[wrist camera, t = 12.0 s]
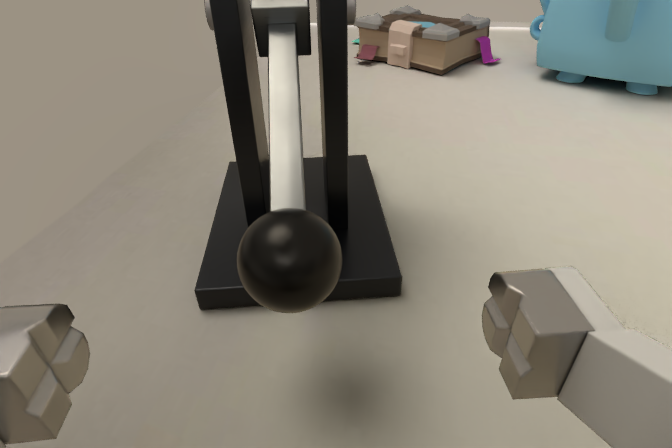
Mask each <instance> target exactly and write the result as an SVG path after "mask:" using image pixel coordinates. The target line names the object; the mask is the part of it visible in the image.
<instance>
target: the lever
mask: <svg viewBox="0 0 672 448" xmlns="http://www.w3.org/2000/svg"><path fill="white" fill-rule="evenodd" d="M251 14H252V19H253V25H254V30H255V36H256V41H257V47H258V52H259V56H260V57H268V92H269V169H270V212H268V213H266V214H264V215H262V216H261V217H259V218H258V219H257V220H256V221H254V222H253V223H252V224H251V225H250V226H249V228H248V229H247V230H246V232H245V233H244V235H243V237H242V239H241V242H240V244H239V248H238V252H237V269H238V274H239V277H240V280H241V282H242V284H243V286H244V288H245V290H246V291H247V292H248V294H249V295H250V296H251V297H252V298H253V299H254V300H255V301H256V302H258V303H259V304H260V305H262V306H264V307H266V308H268V309H270V310H273V311H277V312H282V313H296V312H302V311H305V310H308V309H311V308H313V307H315V306H316V305H318V304H319V303H321V302H322V301H323V300H325V299H326V298H327V297H328V296H329V295H330V293H331V292H332V291H333V289H334V288H335V286H336V284H337V282H338V280H339V277H340V274H341V270H342V250H341V246H340V243H339V240H338V238H337V236H336V234H335V232H334V231H333V229H332V228H331V227H330V225H329V224H328V223H327V222H326V221H324V220H323V219H322V218H321V217H319V216H318V215H316V214H314V213H312V212H310V211H307V210H306V200H305V181H304V161H303V142H302V123H301V104H300V84H299V65H298V56H300V55H311V36H310V12H309V0H251Z"/></svg>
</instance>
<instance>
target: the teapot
mask: <svg viewBox="0 0 672 448" xmlns="http://www.w3.org/2000/svg"><path fill="white" fill-rule="evenodd" d="M540 2H541V5H542V8H543V12H544V15H540V16H538V17H536V18H535V19H534V20H533V22H532V23H531V26H530V34H531V36H532V37H533V38H534V39H535V40H538V44H537V66H540V67H543V68H548V69H553V70H558V71H561V72H560V73H559V74H558V75H557V76H556V79H557V80H560V81H563V82H569V83H580V82H583V81H584V79H585V78H586V76H593V77H599V78H605V79H612V80H620V81H627V84H626V90H628V91H630V92H633V93H637V94H643V95H654V94H657V93H658V91H657V85H658V86H667V87H672V0H540ZM541 22H543V25H542V28H541V30H540V29H539V24H540V23H541Z"/></svg>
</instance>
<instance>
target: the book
mask: <svg viewBox="0 0 672 448" xmlns="http://www.w3.org/2000/svg"><path fill="white" fill-rule="evenodd" d="M489 25H490V19H489V18H479V17H478V18H477V17H474V16H471V15H469V14H467V15H465V16H463V17H462V18H461V19H452V18H442V17H436V16H431V15H425V14H421V11H420V10H416V9H414V8H412V7H410V6H408V5H407V6H405V7H400V8H396V9H393V10H391V11H390V14H389V15H386V16H382V17H381V16H380V15H379V14H378V13H376V14H374V15H368V16H364V17H360V18H356V20H355V24H354V26H357V27H358V28H359V36H360V37H359V39H356V40H354V41H352V42H356V43H359V52H358V53H357V57H354V58H359V59H366V60H377V61H385V62H387V64H390V65H397V66H401V67H404V68H407V69H408V68H410V67H415V68H418V69H422V70H425V71H429V72H433V73H436V74H440V75H443V74H444V73H446V72H448V71H450V70H451V69H453V68H455V67H457V66H458V65H460V64H462V63H465V62H468V61H471V60H474V59H477V58H480V57H482V59H483V62H484V63H485V64H486V63H489V62H491V63H492V62H495V61H497V60H500V59H495V60H494V59H493V57H492V53H491V46H490V39H489V38H488V37H489Z"/></svg>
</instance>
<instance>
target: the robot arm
mask: <svg viewBox="0 0 672 448" xmlns="http://www.w3.org/2000/svg"><path fill="white" fill-rule="evenodd" d="M488 288H489V290H490V292H491V294H492V297H491V298H490V299H489V300H487V301H486V302H485V303H484V307H483V312H482V327H483V332H484V336H485V339H486V342H487V344H488V346H489V348H490V350H491V351H492V352H494V353H495V354H497V355H498V356H499V357H501V358H502V360H501V363H500V366H499V371H500V373H501V375H502V377H503V379H504V381H505V384H506V386H507V388H508V390H509V392H510V394H511V397H512V399H529V398H546V397H558V398H557V399H558V400H559V401H560V402H561V403H562V404H563V405H564V406H566V407H567V408H568V409H569V410H570V411H571V412H572V413H574V414H575V415H576V416H577V417H578V418H579V419H580V420H582V421H583V422H584V423H585V424H586V425H587V426H588V427H589V428H591V429H592V430H593V431H594V432H595V433H596V434H597V435H599V436H600V437H601V438H602V439H603V440H604V441H605V442H607V443H608V444H609V445H610V446H611V447H612V448H672V349H671V348H669V347H667V346H666V345H664V344H662V343H660V342H658V341H656V340H655V339H653V338H651V337H649V336H647V335H645V334H644V333H642V332H640V331H638V330H636V329H626V328H625V327H624V326H623V324H622V323H621V322H620V321H619V320H618V318H617V317H616V316H615V315H614V313H613V312H612V311H611V310H610V309H609V307H608V306H607V305H606V304H605V302H604V301H603V300H602V299H601V298H600V296H599V295H598V294H597V293H596V291H595V290H594V289H593V288H592V286H591V285H590V284H589V283H588V282H587V280H586V279H585V278H584V277H583V275H582V274H581V273H580V272H579V271H578V270H577V269H576V268H574V267H572V266H564V267H553V268H545V269H531V270H518V271H506V272H495V273H494V274H493V275H492V277H491V278H490V282H489V286H488ZM74 318H75V317H74V316H73V314H72V312H71V311H70V309H69V308H68V306H67V305H63V304H42V305H21V306H5V307H0V448H6V445H5V444H14V443H23V442H32V441H40V440H49V439H56V438H57V436H58V433H59V431H60V429H61V427H62V425H63V423H64V421H65V418H66V416H67V414H68V412H69V410H70V408H71V406H72V402H71V399H70V396H69V393H70V392H71V391H73V390H74V389H75V388H76V387H77V386H79V385H80V384H81V383H82V382H83V379H84V377H85V375H86V372H87V370H88V365H89V357H90V351H89V345H88V342H87V340H86V338H85V336H84V334H83V333H82V332H80V331H78V330H77V329H75V328H73V327H72V326H71V324H72V322H73V320H74Z"/></svg>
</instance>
